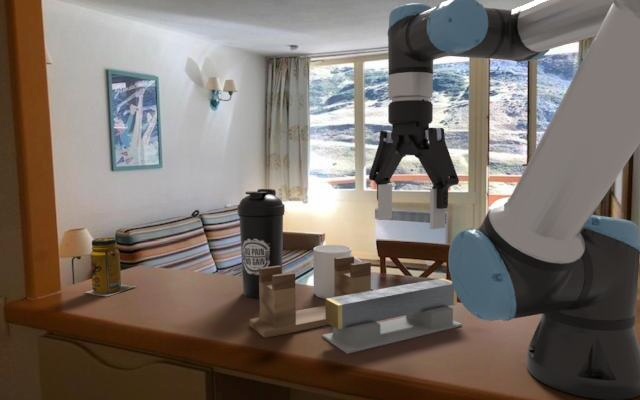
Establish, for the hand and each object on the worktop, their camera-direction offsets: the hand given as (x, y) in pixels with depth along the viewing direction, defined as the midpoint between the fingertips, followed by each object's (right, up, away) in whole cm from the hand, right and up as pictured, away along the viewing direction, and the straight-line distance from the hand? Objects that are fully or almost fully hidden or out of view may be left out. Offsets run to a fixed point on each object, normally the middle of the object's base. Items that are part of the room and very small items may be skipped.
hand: (409, 223), depth 89 cm
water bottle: (-28, -17, +23) cm, 41 cm away
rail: (-3, -16, 0) cm, 16 cm away
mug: (-11, -17, +22) cm, 30 cm away
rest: (-3, -19, 0) cm, 19 cm away
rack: (-16, -18, +6) cm, 25 cm away
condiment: (-64, -17, +27) cm, 71 cm away
